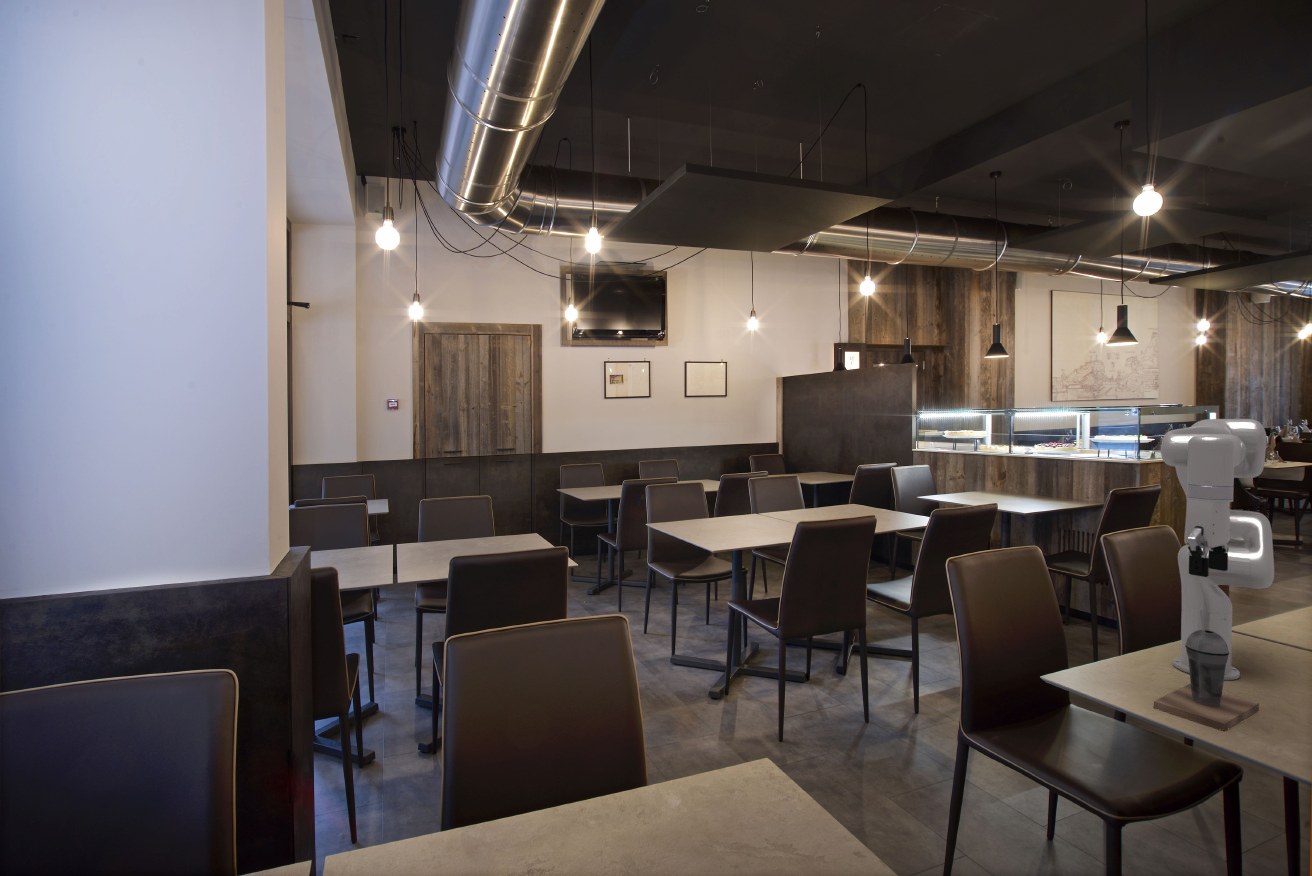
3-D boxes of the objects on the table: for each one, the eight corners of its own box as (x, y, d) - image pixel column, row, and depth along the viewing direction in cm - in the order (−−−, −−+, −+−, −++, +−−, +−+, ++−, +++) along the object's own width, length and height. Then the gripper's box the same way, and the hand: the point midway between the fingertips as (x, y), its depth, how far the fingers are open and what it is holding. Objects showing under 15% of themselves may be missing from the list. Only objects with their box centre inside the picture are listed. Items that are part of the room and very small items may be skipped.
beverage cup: (1237, 711, 133) (1239, 616, 132) (1197, 708, 134) (1198, 614, 134) (1214, 696, 140) (1216, 606, 139) (1176, 693, 141) (1178, 604, 141)
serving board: (1190, 689, 147) (1190, 683, 147) (1258, 710, 136) (1258, 703, 136) (1153, 708, 138) (1153, 701, 137) (1224, 731, 127) (1224, 723, 127)
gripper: (1205, 489, 143) (1203, 564, 144) (1170, 494, 135) (1169, 574, 135) (1248, 492, 137) (1247, 571, 137) (1214, 498, 128) (1213, 582, 129)
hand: (1208, 572), depth 136 cm, fingers open, 9 cm apart
